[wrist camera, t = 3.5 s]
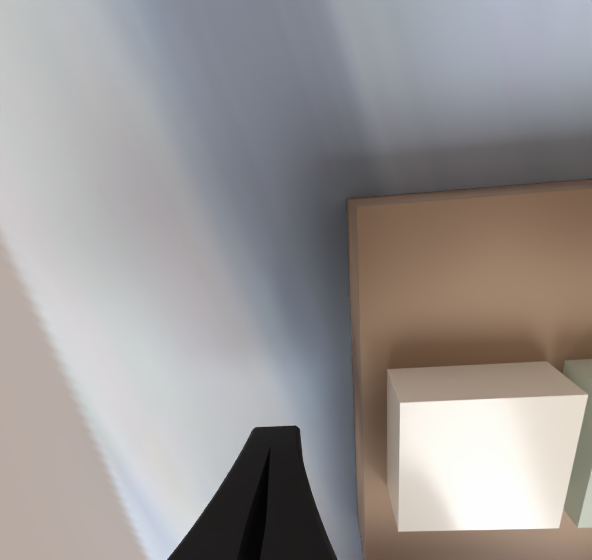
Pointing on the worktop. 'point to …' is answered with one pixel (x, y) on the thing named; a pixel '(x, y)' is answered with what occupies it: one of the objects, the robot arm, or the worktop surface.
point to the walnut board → (463, 327)
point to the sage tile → (581, 450)
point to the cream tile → (481, 445)
